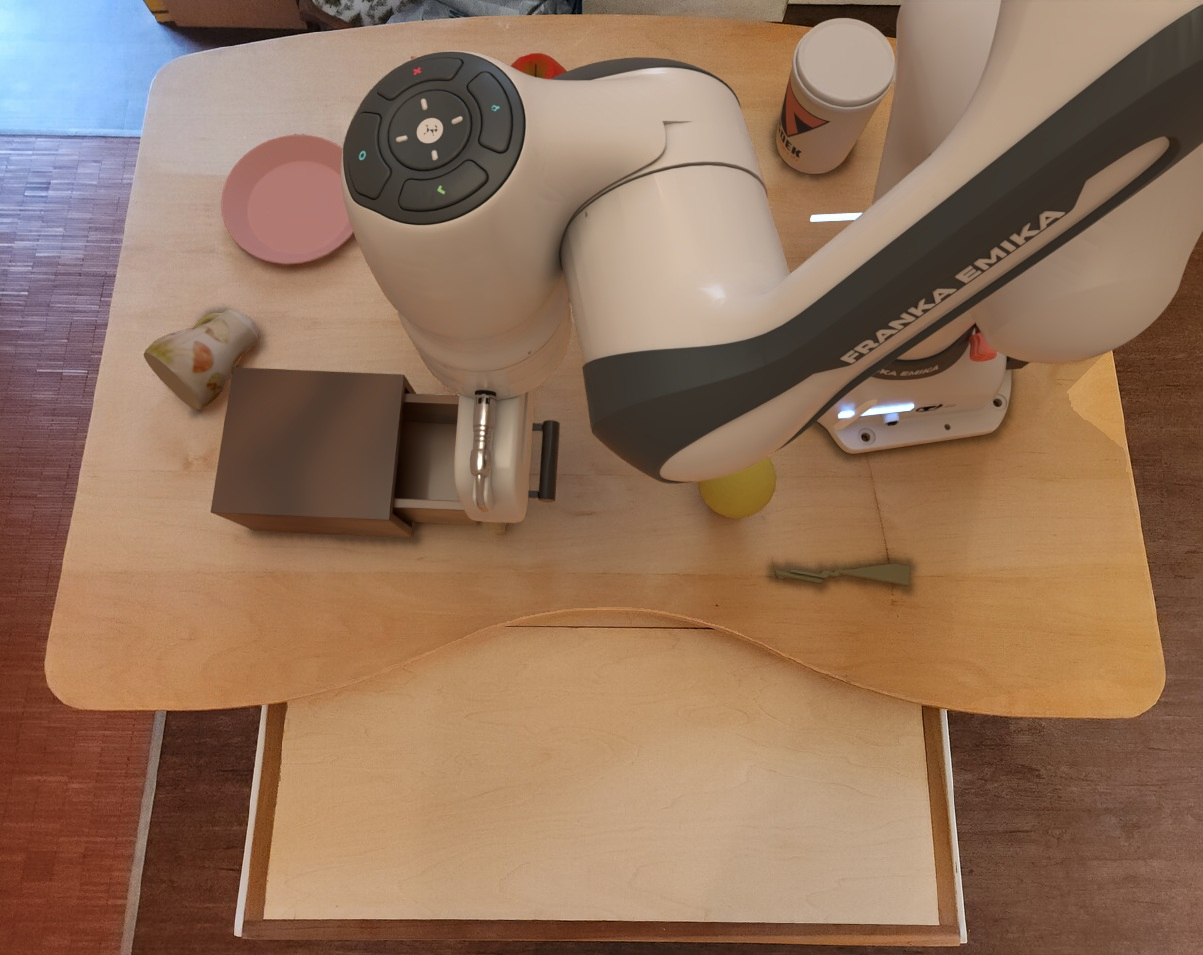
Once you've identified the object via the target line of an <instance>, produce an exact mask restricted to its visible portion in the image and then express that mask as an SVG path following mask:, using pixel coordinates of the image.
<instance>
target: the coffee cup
mask: <svg viewBox="0 0 1203 955" xmlns="http://www.w3.org/2000/svg"><path fill="white" fill-rule="evenodd" d="M791 65H792V66H791V68H790V72H789V76H788V81H787V85H786V88H785V94H784V98H783V102H782V106H781V111H780V115H779V120H778V123H777V124H778V125H777V129H776V134H775V144H776V149H777V151H778V153H779V155H780V157H781V159H782V160H783V161H784V162H785V163H786V164H787V165H788V166H789V167H791V168H792V169H794V170H796V171H798V172H801V173H804V174H809V175H819V174H826V173H828V172H831V171H832V170H835V169H836V168H837V167H839V166H840V165H841V164H842V163H843V162H844V161H845V160H846V158H847V157H848V155H849V153H850V152H851V150H852V149H853V147H854V146H855V144H856V143H857V141H858V139H859V138H860V136H861V135H862V133H863V132H864V130H865V128H866V127H867V125H868V123H869V122H870V120H871V119H872V117H873V116H874V114H875V113H876V111H877V109H878V107H879V105H880V104H881V102H882V101H883V99H884V98H885V97H886V96H887V94H888V93H889V92H890V90H891V89H892V87H893V84H894V82H895V69H896V55H895V52H894V50H893V47H892V45H891V43H890V41H889V40H888V39H887V37H886V36H885V35H884V34H883V33H882V32H881V31H880V30H879V29H877V28H876V27H874V26H873V25H871V24H870V23H867V22H865V21H862V20H860V19H855V18H848V17H839V18H838V17H837V18H832V19H828V20H824V21H822V22H820V23H818V24H817V25H815V26H813V27H812V28H811V29H810V30H808V31H807V32H806V33H805V34H804V35H803V36H802V37H801V38H800V40H799V41H798V42H797V45H796V47H795V49H794V52H793V55H792V62H791Z"/></svg>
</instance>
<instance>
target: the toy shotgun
mask: <svg viewBox="0 0 1203 955" xmlns="http://www.w3.org/2000/svg"><path fill="white" fill-rule="evenodd" d="M911 569H912V566H911V565H909V564H908V565H907V564H902V563H897V562H890V563H884V564H883V563H882V564H876V565H868V566H861V567H853V568H846V569H835V570H833V571H829V570H823V571H821V572H820V573H818V572H812V571H807V570H800V569H796V568H793V569H790V570H789V571H785V570H779V569H776V570H775V571H774V575H775V576H776V577H778V578H779V580H781V579H784V578H787V579H792V580H798V581H804V582H808V583H814V584H822V583H824V579H827V578H828V577H831V578H836V577H839V576H840V575H842V576H848V577H853V578H859V579H865V580H870V581H876V582H881V583H886V584H891V585H898V586H903V587H908V586H910V582H911V581H910V580H911V572H912V570H911Z"/></svg>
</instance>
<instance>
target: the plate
mask: <svg viewBox="0 0 1203 955" xmlns="http://www.w3.org/2000/svg"><path fill="white" fill-rule="evenodd" d="M342 150H343V146H340V144H337V143H336V142H333V141H331V140H329V139H327V138H325V137H321V136H317V135H312V134H288V135H287V134H286V135H282V136H278V137H277V136H276V137H274V138H271V139H269V140H266V141H264V142H262V143H260V144H258V145H256V146H255V147H253V148H251V149H250V150H249V151H248V152H246V153H245V154H244V155H243V156H242V157H240V159H239V160H238V161H237V162H236V163H235V165H234V166H233V167H232V169H231V170H230V172H229V174H228V176H227V178H226V180H225V182H224V185H223V189H222V193H221V201H220V202H221V203H220V204H221V205H220V207H221V209H220V210H221V215H222V220H223V223H224V226H225V228H226V230H227V232H228V233H229V235H230V237H231V239H232V240H234V242H235V243H236V244H237V245H238V246H240V248H241V249H242V250H244V251H245V252H247V253H248V254H250V255H252V256H253V257H255V258H258V259H260V260H261V261H265V262H268V263H273V264H278V265H279V264H280V265H298V264H304V263H309V262H313V261H316V260H318V259H322V258H324V257H326V256H328V255H329V254H331V253H333V252H334V251H336V250H337V249H339V248H340V247H341V246H343V245H344V244H345V242H347V241H348V240H349V239H350V238H351V237H352V235H354V232H353V230H352V227H351V224H350V221H349V218H348V215H347V211H346V207H345V204H344V199H343V194H342V185H341V158H342Z"/></svg>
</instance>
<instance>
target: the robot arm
mask: <svg viewBox="0 0 1203 955" xmlns="http://www.w3.org/2000/svg"><path fill="white" fill-rule="evenodd" d="M895 36H896V38H895V39H896V40H895V42H896V44H895V64H896V69H895V78H894V81H893V84H894V85H893V93H892V99H891V100H892V101H891V106H890V112H889V119H888V122H887V128H886V129H887V130H886V133H885V138H884V142H883V149H882V154H881V158H880V162H879V168H878V172H877V177H876V181H875V182H876V183H875V188H874V192H873V196H872V201H871V205H870V206H869V207H868V208H867V209H865V210H864V211H863V212H855V213H854V212H853V213H852V212H851V213H831V214H812V215H811V216H810V219H809V220H810V222H831V221H833V222H834V221H835V222H836V221H851V222H850V223H849V224H848V225H847V226H845V227H844V228H843V229H842V230H840V231H839V232H838V233H837V234H836V235H834V236H833V237H832V238H831V239H830V240H828V241H827V242H826V243H825V244H824V245H822V246H821V247H820V248H819V249H818V250H817V251H816V252H814V253H813V254H811V256H810V257H808V258H807V259H806V260H805V261H803V262H802V263H801V264H800V265H799V266H798V267H797V268H795V269H794V270H792V272H791V271H790V269H789V265H788V261H787V258H786V256H785V252H784V249H783V245H782V242H781V239H780V235H779V232H778V228H777V225H776V223H775V219H774V215H773V213H772V212H773V211H772V209H771V206H770V203H769V200H768V189H767V186H766V183H765V180H764V175H763V173H762V170H761V167H760V163H759V161H758V160H759V159H758V156H757V154H756V150H755V147H754V143H753V141H752V138H751V137H752V136H751V134H750V132H749V128H748V124H747V122H746V120H745V116H744V113H743V111H742V106H741V102H740V100H739V98H738V96H737V94H736V92H735V91H734V89H733V88H732V87H730V85H729V84H727V82H725V81H724V80H723V79H721V78H720V77H718V76H716V75H715V74H713V73H711V72H709V71H708V70H705V69H703V68H700V67H699V66H696V65H693V64H690V63H687V62H683V61H681V60H675V59H670V58H660V57H641V56H640V57H638V56H637V57H635V56H634V57H633V56H632V57H623V58H615V59H614V58H613V59H608V60H602V61H597V62H592V63H588V64H585V65H582V66H577V67H575V68H573V69H570V70H566V71H567V72H565V73H562V74H560V75H558V76H555V77H553V78H551V79H543V78H538V77H533V76H531V75H528V74H525V73H523V72H521V71H519V70H517V69H515V68H513V67H511V65H509V64H507V63H505V62H504V61H503V60H499V59H498V58H495V57H492V56H490V55H487V54H483V53H480V52H476V51H470V50H459V49H458V50H457V49H451V50H450V49H448V50H440V51H434V52H429V53H426V54H422V55H418V56H414V57H415V58H413V59H411V58H409V59H407V60H406V61H404V62H402V63H400V64H399V65H397V66H395V67H394V68H392V69H391V70H390V71H388V72H387V73H386V74H384V75H383V76H381V78H379V80H377V82H376V83H375V84H373V86H372V87H371V88H370V89H369V91H368V92H367V93H366V94H365V96H364V97H363V99H362V100H361V102H360V103H359V105H358V107H357V109H356V110H355V112H354V114H353V116H352V118H351V120H350V123H349V125H348V127H347V130H346V133H345V137H344V140H343V144H342V148H343V150H342V158H341V185H342V194H343V199H344V204H345V207H346V211H347V215H348V218H349V221H350V224H351V227H352V230H353V232H354V233H353V235H354V237H355V240H356V241H357V244H358V247H359V249H360V251H361V253H362V255H363V258H364V260H365V262H366V264H367V266H368V268H369V270H370V272H371V274H372V276H373V277H374V279H375V281H376V283H377V285H378V287H379V288H380V290H381V292H382V293H383V296H384V297H385V298H386V299H387V300H388V302H389V303H390V304H391V306H392V307H393V308H394V309H395V310H396V311H397V314H398V318H399V320H400V322H401V325H402V327H403V329H404V330H405V332H406V334H407V336H408V338H409V339H410V341H411V343H412V344H413V346H414V348H415V349H416V351H417V352H418V354H419V356H420V358H421V359H422V361H423V363H424V364H425V366H426V368H427V369H428V371H429V372H430V373H431V374H432V375H433V377H435V378H436V380H438V381H439V382H440V383H441V384H443V385H444V387H446V388H448V389H450V390H451V391H454V392H455V393H457V394H459V395H458V396H459V406H458V418H457V430H456V442H455V455H454V478H455V486H456V491H457V494H458V497H459V499H460V502H461V504H462V506H463V508H464V510H465V512H466V514H467V516H468V517H469V518H470V519H472V520H475V521H478V522H483V523H484V522H503V523H505V524H506V523H510V524H512V523H513V524H515V523H521V522H522V521H523V520H524V519H525V517H526V514H527V511H528V504H529V502H528V501H529V498H528V491H529V490H530V476H531V475H530V474H531V473H530V472H531V458H532V457H531V456H532V442H533V440H532V439H533V431H532V426H533V423H534V408H535V395H536V394H535V393H536V388H537V387H539V386H540V385H541V384H543V383H544V382H545V381H546V380H548V379H549V378H550V376H552V375H553V374H554V373H555V371H556V370H557V369H558V367H559V366H560V364H561V363H562V361H563V360H564V358H565V356H566V353H567V351H568V349H569V346H570V343H571V342H570V341H571V336H572V324H573V323H572V321H573V320H574V324H575V329H576V333H577V337H578V340H579V345H580V349H581V354H582V358H583V362H584V364H583V366H582V367H581V368H582V376H583V382H584V390H585V394H586V396H585V397H586V403H587V410H588V416H589V424H590V430H591V434H592V435H593V436H594V437H595V438H596V439H597V440H598V441H599V442H600V443H602V445H604V446H605V447H606V448H607V449H609V451H611V452H612V453H613V454H615V455H616V456H617V457H618V458H620V459H621V460H622V461H624V462H626V463H627V464H628V465H630V466H631V467H633V468H634V469H636V470H637V471H639V472H640V473H642V474H644V475H646V476H648V477H650V478H652V479H654V480H656V481H658V482H660V483H662V484H669V485H670V484H673V485H674V484H675V485H677V484H679V485H681V484H688V483H689V484H690V483H694V482H697V481H703V480H709V479H715V478H719V477H723V476H727V475H730V474H733V473H736V472H739V471H742V470H744V469H746V468H749V467H751V466H753V465H755V464H757V463H758V462H760V461H762V460H763V459H765V458H767V457H768V456H769V457H770V456H772V455H773V454H775V453H776V452H778V451H779V450H781V449H783V448H784V447H786V446H787V445H789V444H790V443H791V442H794V440H796V439H797V438H798V437H800V436H801V435H802V434H803V433H804V432H806V431H807V430H808V429H809V428H810V427H811V426H813V425H814V424H815V423H816V422H817V423H818V424H820V425H821V426H823V428H825V429H826V430H827V432H828V433H829V435H830V436H831V438H832V439H833V440H834V442H835V444H836V445H837V446H838V447H839V448H840V449H841V450H842V451H844V452H845V453H847V454H851V455H854V454H855V455H856V454H863V453H869V452H876V451H884V450H889V449H896V448H903V447H911V446H917V445H924V444H931V443H938V442H944V441H951V440H958V439H965V438H972V437H978V436H986V435H988V434H992V433H993V432H995V430H997V428H998V427H999V426H1000V425H1001V423H1002V421H1003V419H1004V418H1005V415H1006V413H1007V410H1008V408H1009V403H1010V398H1011V393H1012V370H1021V369H1023V368H1024V367H1026V366H1028V365H1029V364H1030V363H1031V364H1032V363H1033V364H1042V365H1063V364H1064V365H1065V364H1071V363H1077V362H1082V361H1086V360H1091V359H1094V358H1097V357H1099V356H1103V355H1104V354H1108V353H1109V352H1112V351H1113V350H1116V349H1119V348H1120V347H1122V346H1123V345H1125V344H1127V343H1128V342H1130V341H1132V340H1133V339H1135V338H1137V336H1139V335H1140V334H1141V333H1143V332H1144V331H1145V330H1147V329H1148V328H1149V327H1150V326H1151V325H1152V324H1154V322H1155V321H1156V320H1157V319H1158V318H1159V317H1160V316H1161V315H1162V314H1163V312H1165V310H1166V309H1167V308H1168V306H1169V305H1170V303H1171V302H1172V300H1173V299H1174V297H1175V295H1176V294H1177V292H1178V290H1179V287H1180V285H1181V281H1182V279H1183V275H1184V273H1185V269H1186V266H1187V265H1188V262H1189V259H1190V256H1191V254H1192V252H1193V250H1194V248H1195V247H1196V244H1197V243H1198V240H1199V238H1200V237H1201V235H1202V234H1203V0H902V3H901V5H900V7H899V10H898V13H897V18H896V35H895ZM572 316H573V320H572ZM994 402H996V403H997V404H998V406H996V405H995V404H994ZM862 436H865V437H866V438H867V441H865V440H863V439H862Z"/></svg>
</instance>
